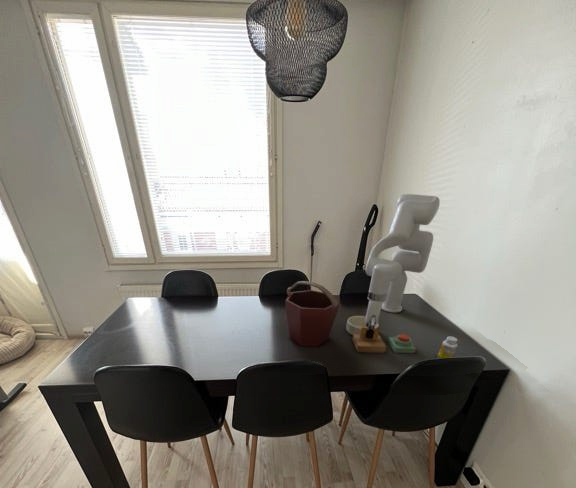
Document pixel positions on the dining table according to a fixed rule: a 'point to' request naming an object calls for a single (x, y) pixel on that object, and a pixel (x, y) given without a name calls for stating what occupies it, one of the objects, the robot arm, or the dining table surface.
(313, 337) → the bucket
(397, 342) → the button block
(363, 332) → the tap lever
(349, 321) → the basin
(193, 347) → the dining table surface
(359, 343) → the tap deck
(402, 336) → the button
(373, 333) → the robot arm
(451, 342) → the supplement bottle
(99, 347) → the dining table surface
